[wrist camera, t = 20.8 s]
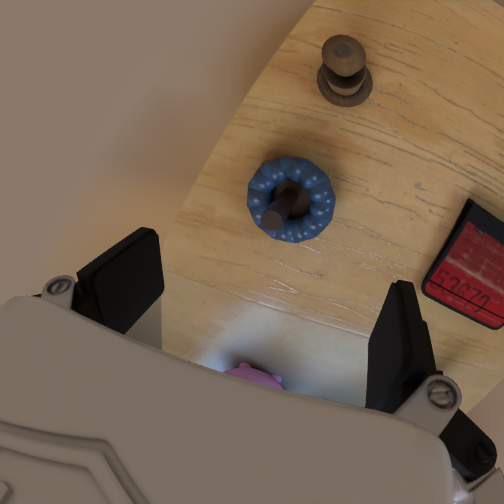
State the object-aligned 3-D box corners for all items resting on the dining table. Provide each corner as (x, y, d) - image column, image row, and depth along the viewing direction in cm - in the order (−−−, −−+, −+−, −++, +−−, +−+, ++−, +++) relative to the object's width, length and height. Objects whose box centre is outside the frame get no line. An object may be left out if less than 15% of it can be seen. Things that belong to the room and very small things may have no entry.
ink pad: (473, 202, 28) (551, 263, 25) (467, 196, 29) (545, 256, 27) (416, 295, 36) (498, 334, 34) (414, 286, 38) (495, 326, 36)
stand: (263, 162, 37) (236, 178, 29) (323, 171, 35) (315, 190, 27) (260, 217, 41) (233, 248, 32) (315, 227, 39) (304, 262, 30)
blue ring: (255, 149, 36) (247, 152, 33) (341, 163, 33) (341, 167, 30) (248, 227, 41) (241, 236, 38) (326, 244, 38) (324, 254, 36)
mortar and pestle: (333, 115, 32) (322, 111, 16) (308, 71, 30) (273, 32, 15) (380, 96, 28) (411, 76, 13) (354, 51, 27) (360, -4, 11)
